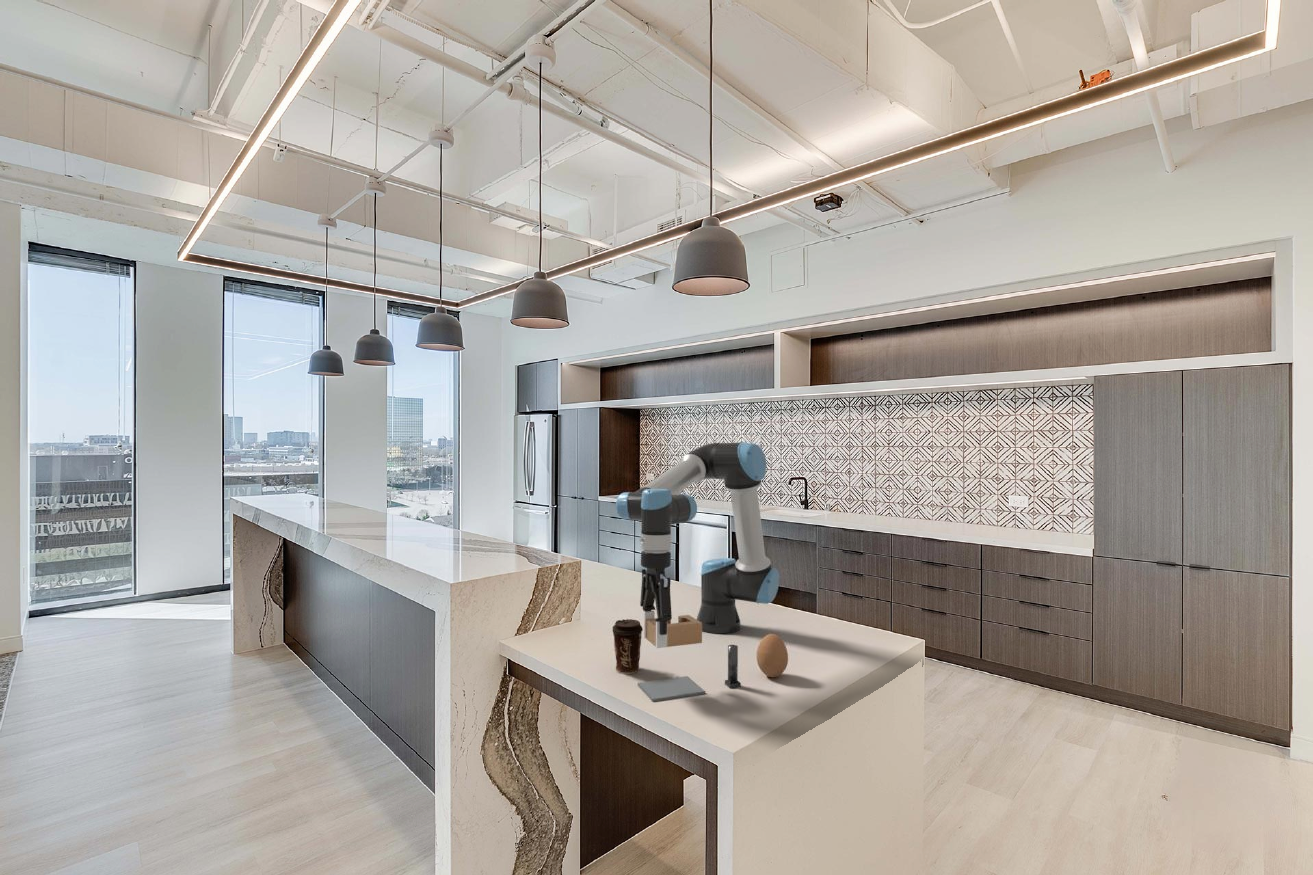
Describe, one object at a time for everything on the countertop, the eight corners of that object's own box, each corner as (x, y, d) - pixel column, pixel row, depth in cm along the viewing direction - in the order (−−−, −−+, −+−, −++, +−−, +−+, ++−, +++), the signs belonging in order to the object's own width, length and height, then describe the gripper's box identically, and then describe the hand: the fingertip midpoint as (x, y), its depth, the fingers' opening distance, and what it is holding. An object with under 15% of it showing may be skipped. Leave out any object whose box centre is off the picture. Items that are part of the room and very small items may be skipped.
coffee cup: (611, 664, 172) (612, 618, 173) (641, 663, 173) (641, 617, 173) (612, 675, 164) (612, 626, 164) (643, 675, 164) (643, 626, 165)
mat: (687, 678, 162) (687, 675, 162) (705, 693, 152) (705, 691, 152) (637, 685, 157) (637, 682, 157) (652, 701, 147) (652, 699, 147)
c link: (688, 633, 161) (688, 614, 161) (701, 642, 153) (702, 622, 154) (645, 638, 156) (646, 619, 157) (657, 648, 149) (657, 627, 149)
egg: (753, 671, 168) (753, 629, 168) (783, 670, 169) (783, 629, 169) (760, 682, 160) (760, 639, 160) (791, 681, 160) (792, 638, 161)
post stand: (735, 682, 160) (735, 643, 160) (740, 686, 157) (740, 647, 157) (724, 683, 158) (725, 645, 159) (730, 688, 156) (730, 648, 156)
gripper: (628, 545, 162) (627, 631, 161) (657, 558, 143) (656, 656, 142) (654, 544, 165) (653, 629, 164) (686, 556, 145) (685, 653, 145)
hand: (655, 641), depth 153 cm, fingers closed on c link, 8 cm apart
